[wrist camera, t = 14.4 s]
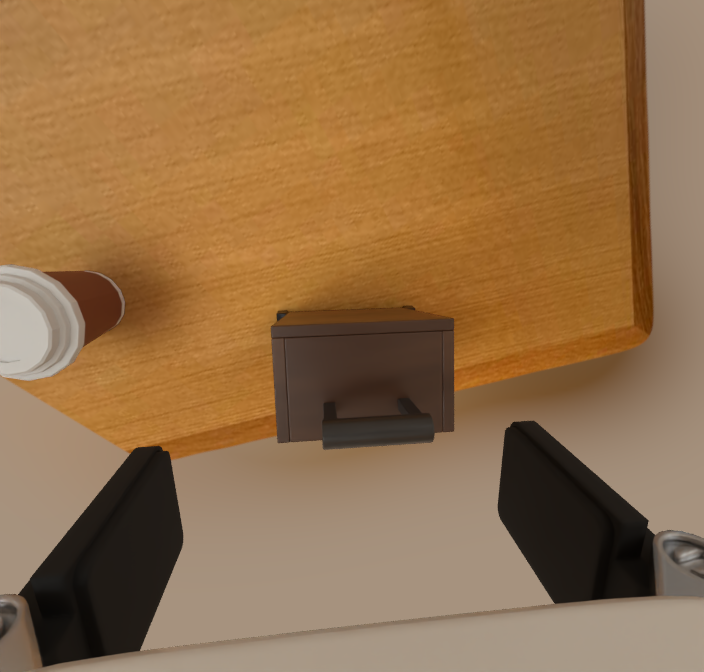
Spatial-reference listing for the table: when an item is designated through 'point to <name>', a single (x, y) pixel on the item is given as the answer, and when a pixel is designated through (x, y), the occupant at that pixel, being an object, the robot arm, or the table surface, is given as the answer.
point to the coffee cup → (52, 318)
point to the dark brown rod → (282, 313)
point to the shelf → (363, 377)
